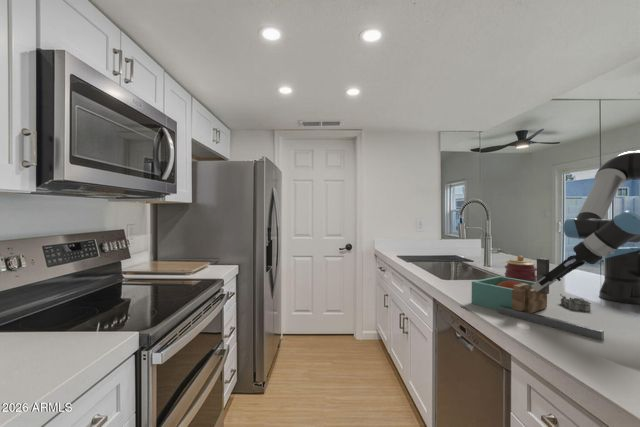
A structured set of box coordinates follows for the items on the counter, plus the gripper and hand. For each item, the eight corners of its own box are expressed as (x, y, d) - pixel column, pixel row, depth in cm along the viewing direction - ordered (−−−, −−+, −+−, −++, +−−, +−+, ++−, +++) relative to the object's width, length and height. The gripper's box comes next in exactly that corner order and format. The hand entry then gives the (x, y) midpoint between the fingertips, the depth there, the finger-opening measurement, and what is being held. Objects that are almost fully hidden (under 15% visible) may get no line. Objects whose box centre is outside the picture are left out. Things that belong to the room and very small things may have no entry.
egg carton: (558, 303, 130) (558, 293, 130) (580, 305, 127) (580, 295, 127) (569, 310, 120) (569, 300, 120) (593, 312, 117) (593, 302, 117)
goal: (498, 295, 140) (498, 276, 140) (541, 305, 126) (541, 283, 126) (471, 303, 128) (471, 281, 128) (515, 314, 114) (516, 290, 114)
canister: (500, 288, 154) (500, 253, 154) (529, 290, 151) (529, 254, 151) (510, 295, 141) (510, 256, 141) (542, 297, 138) (542, 257, 138)
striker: (539, 305, 124) (540, 256, 124) (555, 309, 119) (556, 257, 119) (511, 315, 111) (512, 260, 111) (528, 320, 106) (529, 262, 106)
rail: (501, 312, 116) (501, 305, 116) (603, 338, 92) (603, 330, 92) (498, 312, 115) (498, 306, 115) (601, 340, 91) (601, 331, 91)
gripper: (594, 260, 97) (534, 300, 110) (611, 255, 106) (553, 293, 120) (574, 241, 101) (518, 282, 115) (591, 239, 110) (538, 277, 124)
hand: (536, 287), depth 117 cm, fingers closed on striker, 4 cm apart
